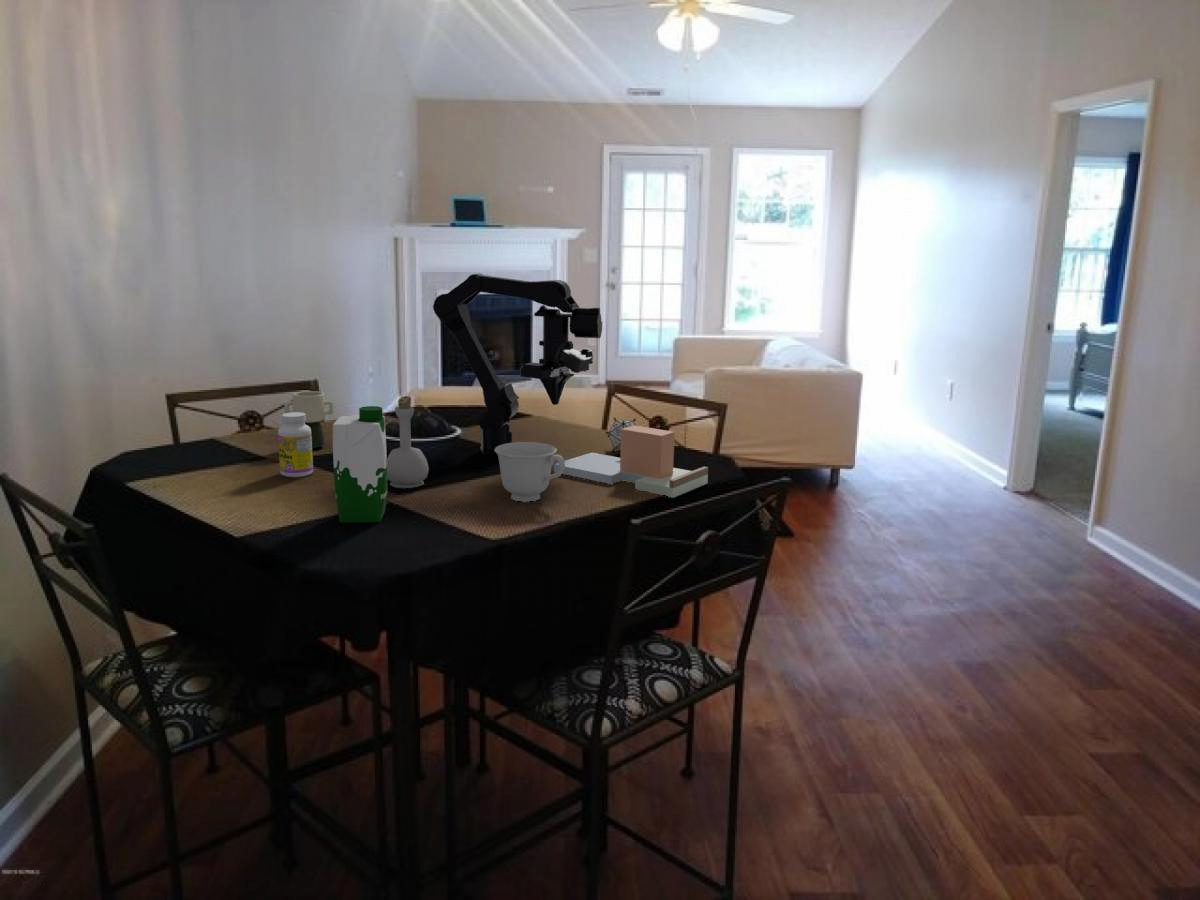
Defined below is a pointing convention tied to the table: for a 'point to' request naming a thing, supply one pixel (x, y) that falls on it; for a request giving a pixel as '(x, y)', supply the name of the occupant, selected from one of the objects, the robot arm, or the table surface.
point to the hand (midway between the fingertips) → (555, 404)
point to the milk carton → (360, 465)
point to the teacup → (527, 468)
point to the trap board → (633, 475)
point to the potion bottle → (406, 453)
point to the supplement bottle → (295, 446)
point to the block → (647, 451)
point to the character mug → (311, 412)
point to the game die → (618, 432)
